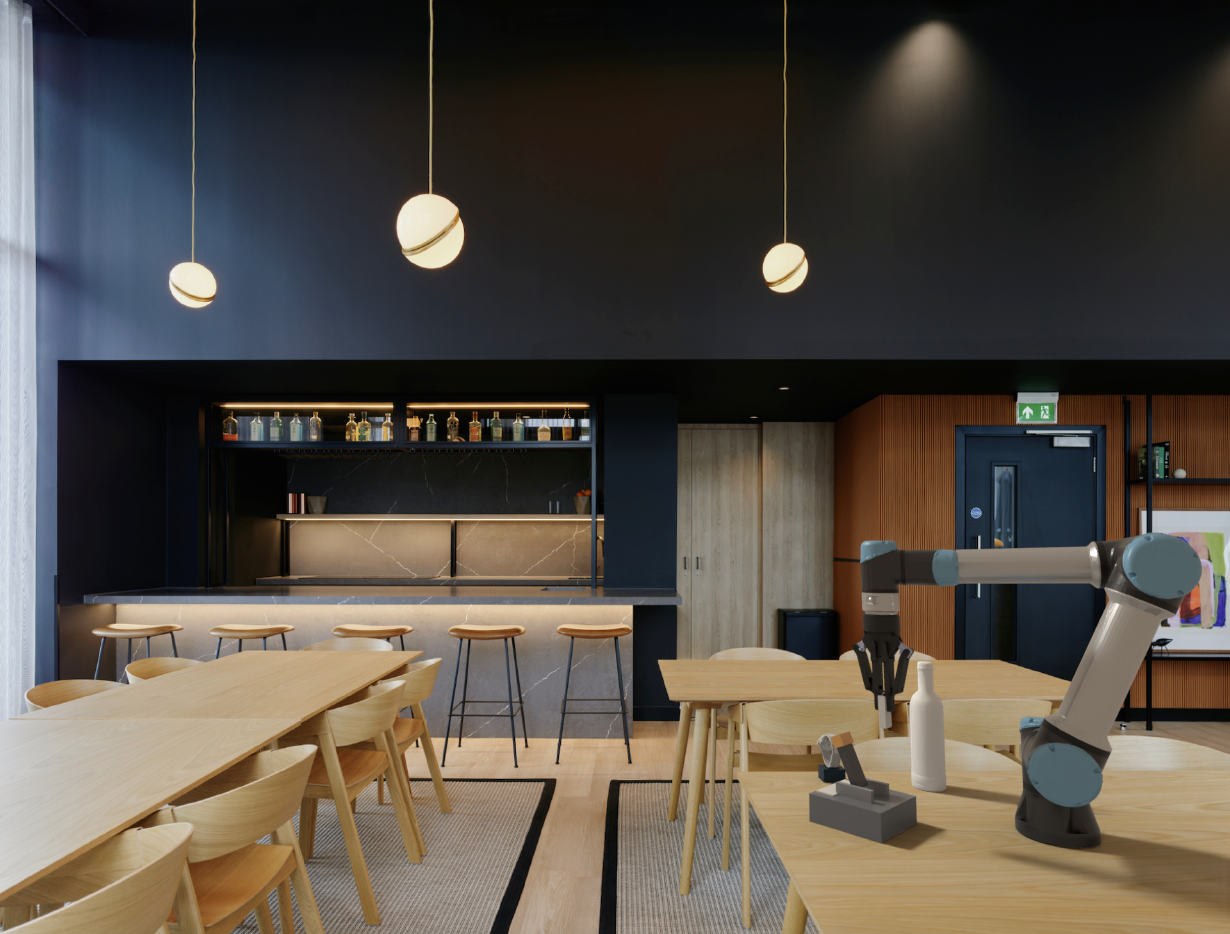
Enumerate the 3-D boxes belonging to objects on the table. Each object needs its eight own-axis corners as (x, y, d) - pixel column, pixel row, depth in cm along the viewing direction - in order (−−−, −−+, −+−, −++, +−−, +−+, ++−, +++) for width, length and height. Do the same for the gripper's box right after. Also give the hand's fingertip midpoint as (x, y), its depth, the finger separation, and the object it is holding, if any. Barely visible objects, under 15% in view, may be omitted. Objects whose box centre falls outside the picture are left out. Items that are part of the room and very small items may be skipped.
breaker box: (916, 823, 156) (915, 784, 157) (881, 843, 145) (880, 800, 146) (847, 804, 167) (846, 767, 168) (809, 820, 156) (809, 781, 157)
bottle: (912, 790, 178) (909, 663, 182) (909, 780, 186) (906, 659, 189) (948, 793, 176) (944, 665, 179) (944, 784, 183) (940, 660, 187)
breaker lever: (870, 784, 158) (849, 731, 162) (860, 788, 155) (839, 734, 159) (860, 786, 159) (840, 733, 164) (850, 791, 156) (830, 737, 161)
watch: (836, 774, 189) (836, 730, 191) (848, 784, 181) (847, 738, 183) (815, 774, 189) (814, 730, 190) (825, 784, 181) (825, 738, 182)
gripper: (844, 612, 159) (847, 724, 157) (902, 615, 150) (907, 735, 147) (861, 610, 165) (865, 719, 162) (918, 613, 155) (924, 729, 152)
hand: (885, 726), depth 154 cm, fingers closed
